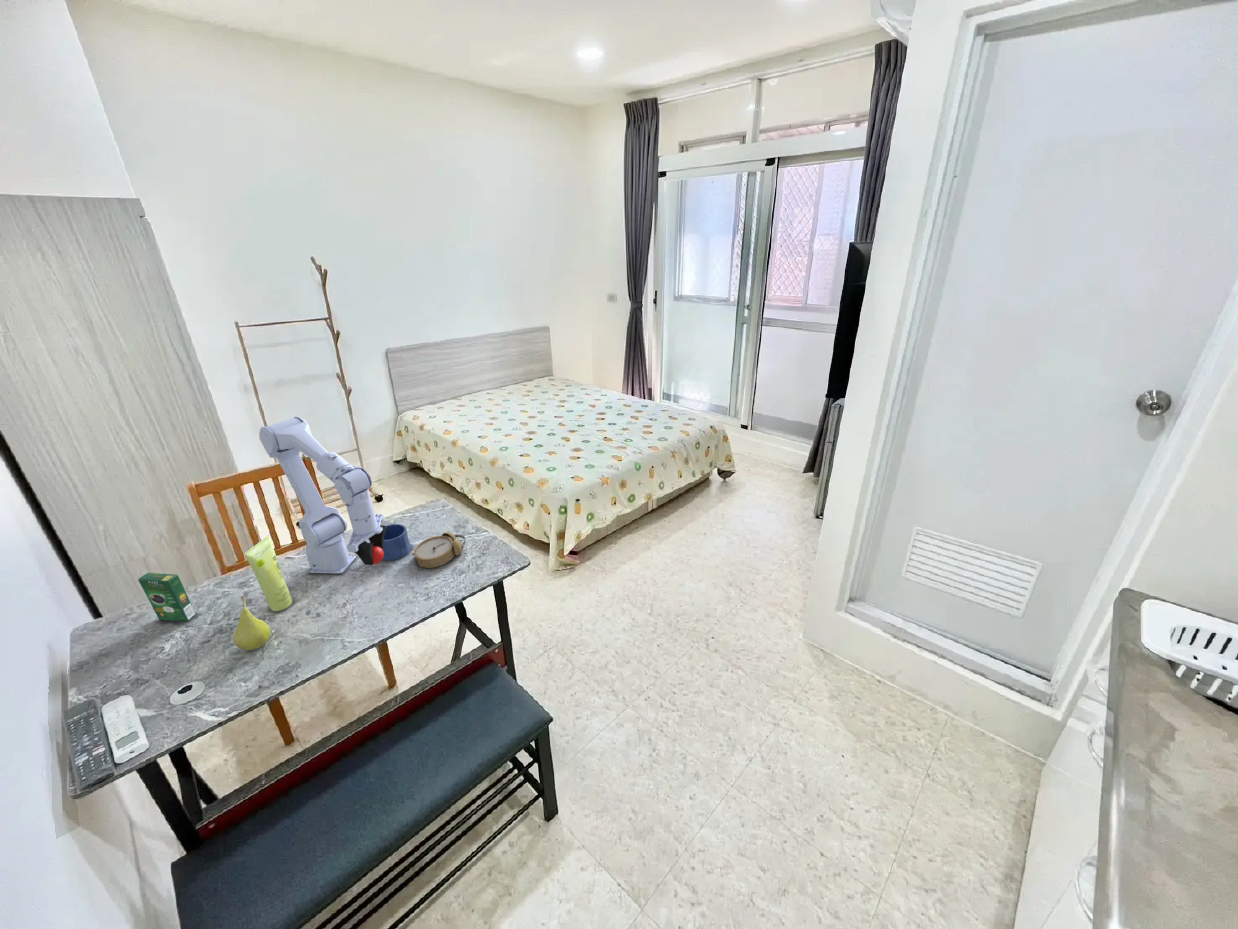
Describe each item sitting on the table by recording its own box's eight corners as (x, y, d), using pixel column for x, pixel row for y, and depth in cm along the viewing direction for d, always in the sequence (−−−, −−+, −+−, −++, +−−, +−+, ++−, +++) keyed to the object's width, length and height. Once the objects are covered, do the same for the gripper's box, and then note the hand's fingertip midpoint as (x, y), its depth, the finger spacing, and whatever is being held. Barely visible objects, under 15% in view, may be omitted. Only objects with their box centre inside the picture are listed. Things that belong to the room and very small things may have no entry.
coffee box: (199, 614, 123) (178, 573, 117) (189, 622, 120) (167, 580, 115) (169, 612, 123) (147, 571, 118) (158, 621, 121) (135, 579, 115)
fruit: (237, 661, 109) (218, 621, 104) (241, 639, 115) (223, 600, 110) (272, 649, 112) (255, 610, 107) (275, 629, 118) (258, 590, 113)
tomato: (361, 568, 127) (355, 549, 124) (370, 557, 132) (365, 538, 129) (380, 569, 127) (375, 550, 124) (389, 557, 131) (384, 539, 129)
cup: (372, 560, 143) (367, 540, 140) (386, 542, 151) (382, 523, 148) (402, 561, 142) (397, 541, 139) (415, 543, 151) (411, 524, 148)
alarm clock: (407, 547, 143) (454, 522, 151) (413, 559, 146) (459, 534, 153) (421, 565, 136) (469, 538, 143) (427, 578, 138) (474, 550, 146)
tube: (293, 608, 125) (269, 545, 116) (270, 616, 122) (243, 553, 114) (292, 595, 129) (269, 534, 120) (270, 603, 127) (244, 541, 118)
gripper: (362, 530, 116) (375, 576, 122) (390, 500, 129) (400, 542, 135) (333, 530, 116) (347, 575, 122) (364, 499, 129) (376, 541, 135)
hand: (373, 558), depth 128 cm, fingers closed on tomato, 5 cm apart
